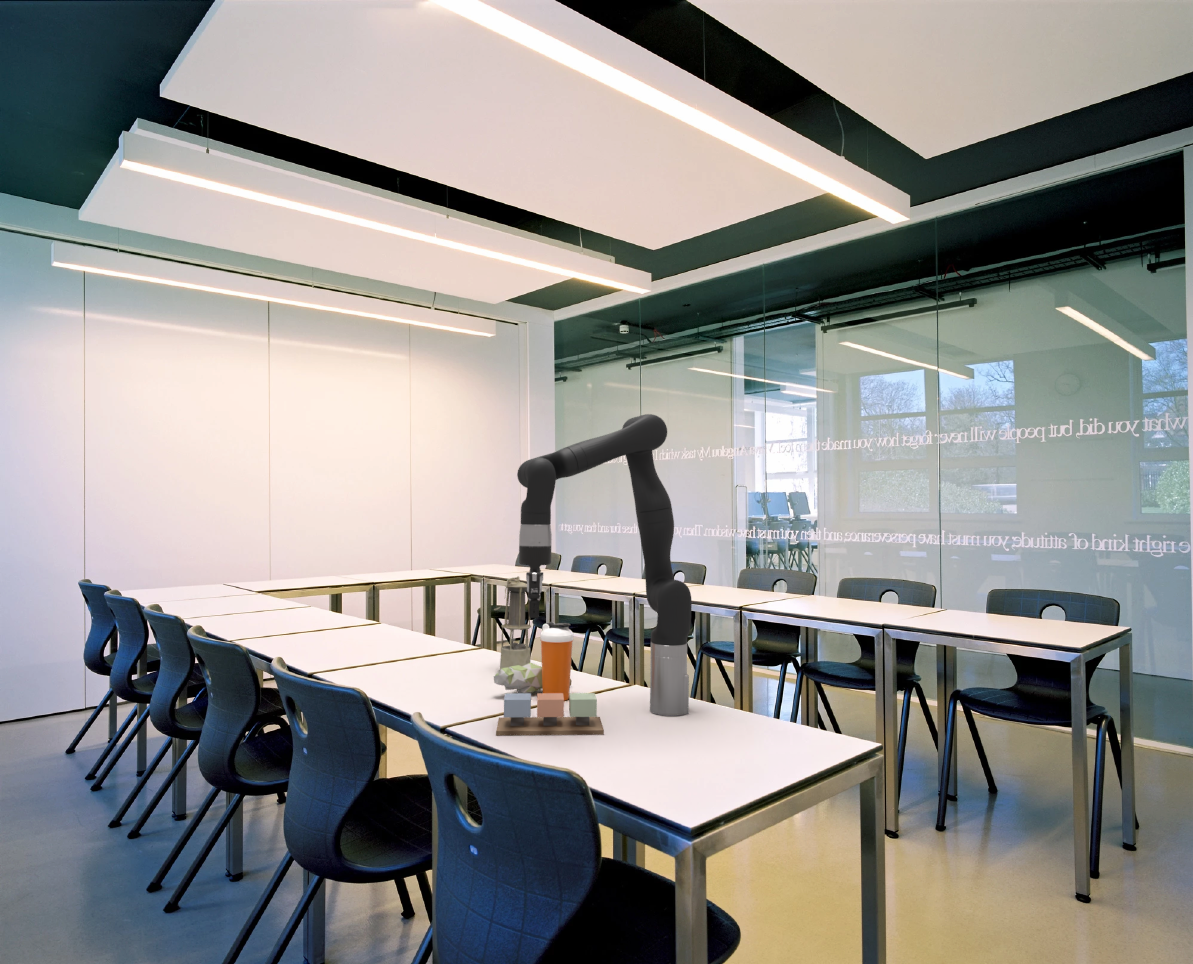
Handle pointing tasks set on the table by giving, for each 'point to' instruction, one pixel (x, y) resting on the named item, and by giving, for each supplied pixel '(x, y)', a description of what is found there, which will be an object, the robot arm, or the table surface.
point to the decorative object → (521, 678)
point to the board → (549, 726)
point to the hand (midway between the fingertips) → (534, 615)
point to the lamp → (515, 625)
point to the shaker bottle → (556, 658)
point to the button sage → (582, 705)
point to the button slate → (517, 705)
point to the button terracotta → (550, 705)
